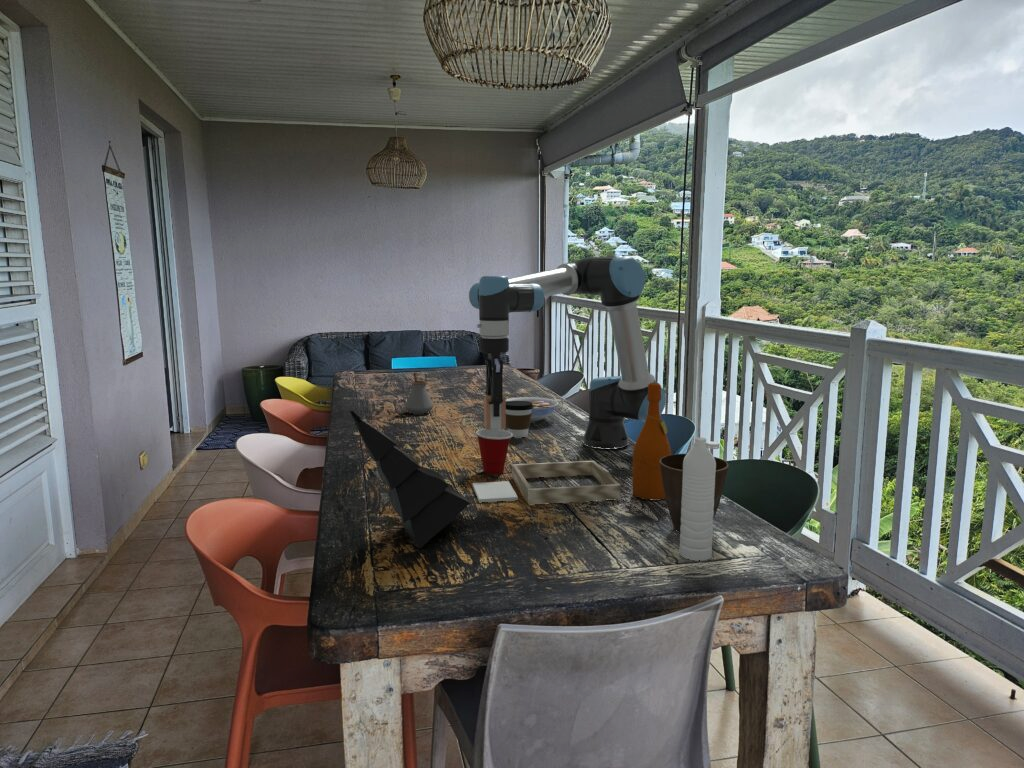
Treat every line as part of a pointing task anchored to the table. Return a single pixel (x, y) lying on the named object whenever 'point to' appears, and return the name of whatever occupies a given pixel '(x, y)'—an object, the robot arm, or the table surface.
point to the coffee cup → (518, 417)
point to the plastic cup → (493, 449)
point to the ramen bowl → (539, 407)
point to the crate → (565, 494)
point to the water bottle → (698, 501)
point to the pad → (494, 491)
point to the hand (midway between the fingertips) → (494, 425)
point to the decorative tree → (412, 487)
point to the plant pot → (673, 483)
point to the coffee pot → (419, 398)
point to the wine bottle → (650, 450)
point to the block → (487, 412)
